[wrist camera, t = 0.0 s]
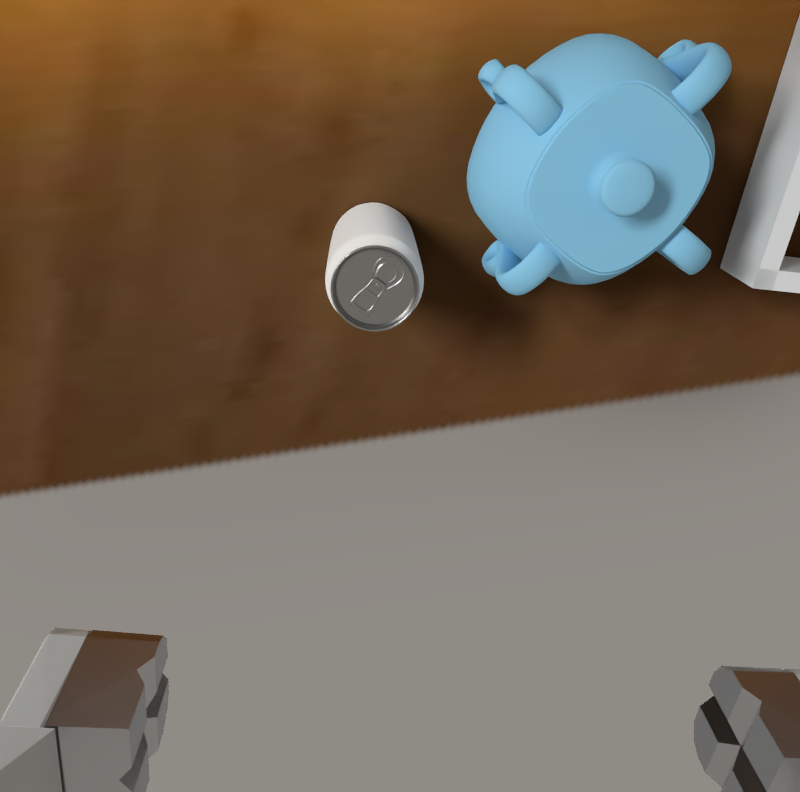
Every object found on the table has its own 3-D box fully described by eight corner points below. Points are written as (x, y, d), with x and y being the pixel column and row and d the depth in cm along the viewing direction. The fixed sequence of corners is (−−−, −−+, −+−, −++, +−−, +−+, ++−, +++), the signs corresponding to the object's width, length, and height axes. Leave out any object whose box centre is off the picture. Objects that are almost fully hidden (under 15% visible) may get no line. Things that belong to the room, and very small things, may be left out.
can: (431, 235, 56) (447, 280, 45) (380, 299, 58) (384, 356, 47) (364, 183, 54) (365, 217, 43) (314, 250, 56) (302, 299, 45)
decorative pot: (470, 30, 50) (503, 25, 38) (697, 38, 51) (801, 35, 39) (456, 261, 57) (479, 319, 45) (655, 264, 58) (732, 323, 46)
